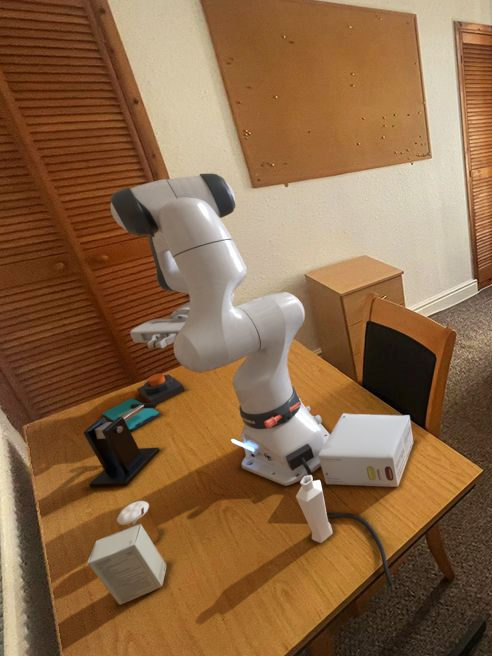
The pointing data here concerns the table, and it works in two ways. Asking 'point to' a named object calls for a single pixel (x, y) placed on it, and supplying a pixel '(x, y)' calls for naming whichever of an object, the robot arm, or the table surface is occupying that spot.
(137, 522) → the milkshake
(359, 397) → the table surface
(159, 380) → the button
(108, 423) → the lever
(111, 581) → the cosmetic box
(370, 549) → the table surface
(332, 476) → the supplement box
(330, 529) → the perfume bottle
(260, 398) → the robot arm
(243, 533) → the table surface
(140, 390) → the control box
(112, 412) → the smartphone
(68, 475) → the table surface
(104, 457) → the bracket
